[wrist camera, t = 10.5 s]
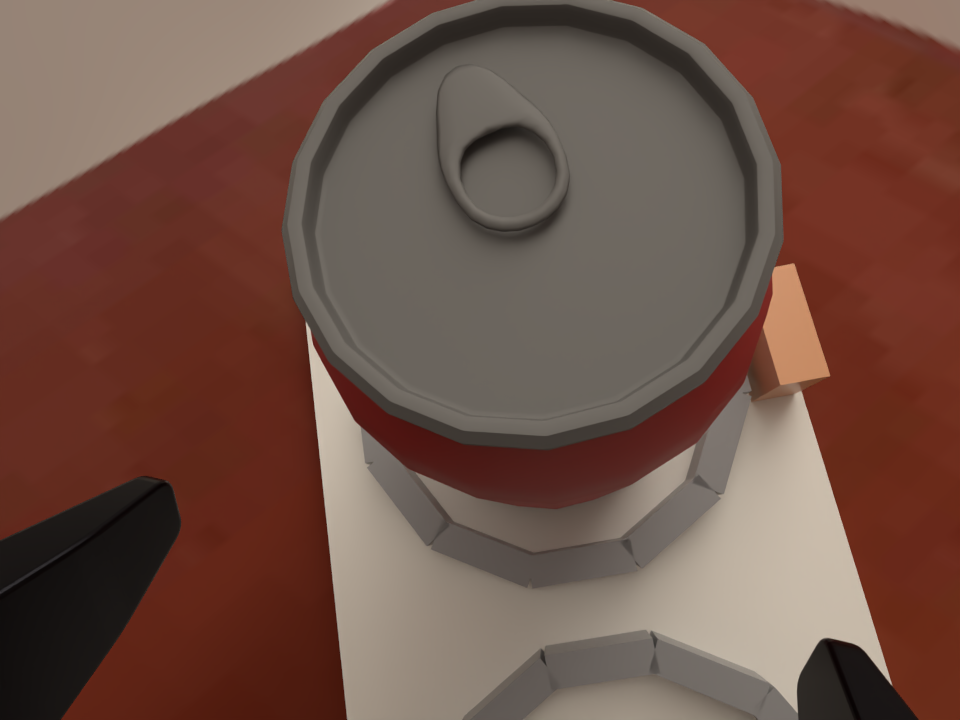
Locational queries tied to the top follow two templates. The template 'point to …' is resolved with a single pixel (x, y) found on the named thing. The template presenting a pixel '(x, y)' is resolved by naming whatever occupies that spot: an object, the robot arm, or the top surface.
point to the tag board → (600, 569)
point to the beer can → (536, 245)
